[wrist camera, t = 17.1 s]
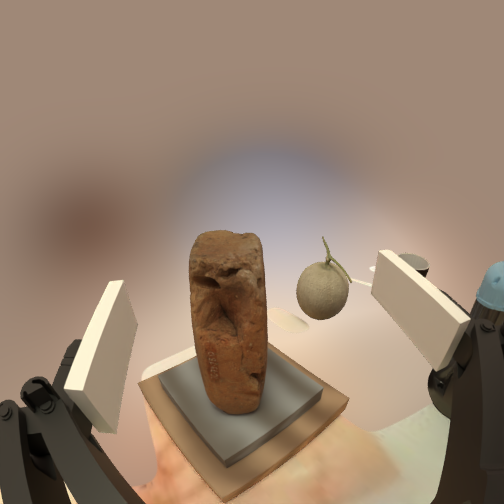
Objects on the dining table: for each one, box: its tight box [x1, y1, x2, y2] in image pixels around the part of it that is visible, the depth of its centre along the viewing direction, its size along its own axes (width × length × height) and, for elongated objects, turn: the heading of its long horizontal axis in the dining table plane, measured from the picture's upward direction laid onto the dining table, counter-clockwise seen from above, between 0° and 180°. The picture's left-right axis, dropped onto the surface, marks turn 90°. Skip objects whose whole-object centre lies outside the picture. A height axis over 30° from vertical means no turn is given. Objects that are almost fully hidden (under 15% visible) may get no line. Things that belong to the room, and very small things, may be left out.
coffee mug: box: [397, 253, 430, 278], centre depth 56 cm, size 12×9×10 cm
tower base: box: [138, 343, 349, 503], centre depth 35 cm, size 22×22×6 cm
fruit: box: [296, 237, 352, 320], centre depth 53 cm, size 10×12×15 cm
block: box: [189, 230, 268, 414], centre depth 29 cm, size 11×8×20 cm
